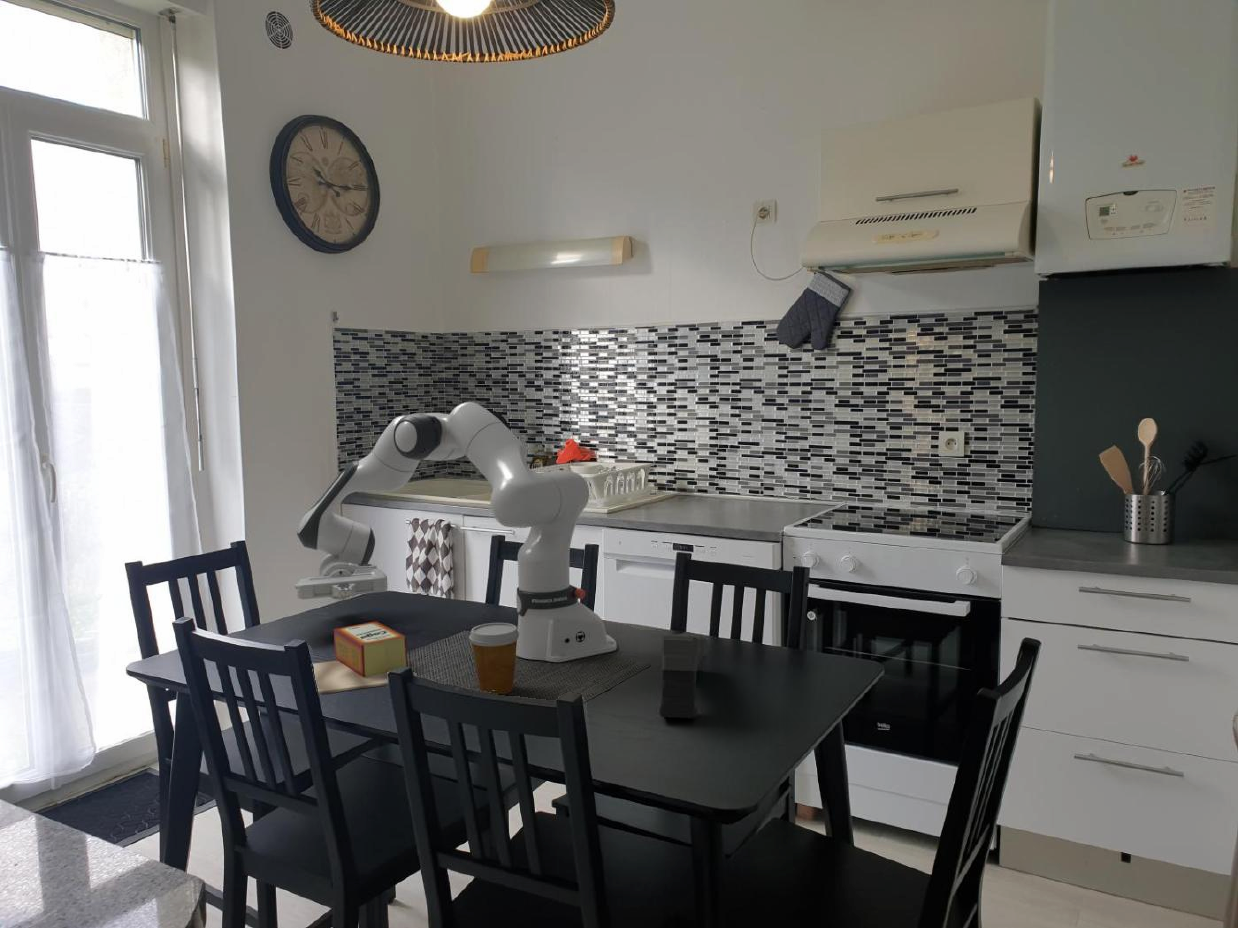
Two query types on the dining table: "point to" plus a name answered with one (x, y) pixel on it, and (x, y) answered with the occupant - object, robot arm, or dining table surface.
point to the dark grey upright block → (681, 673)
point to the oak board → (343, 678)
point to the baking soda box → (370, 648)
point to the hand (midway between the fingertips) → (345, 592)
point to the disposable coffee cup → (495, 656)
